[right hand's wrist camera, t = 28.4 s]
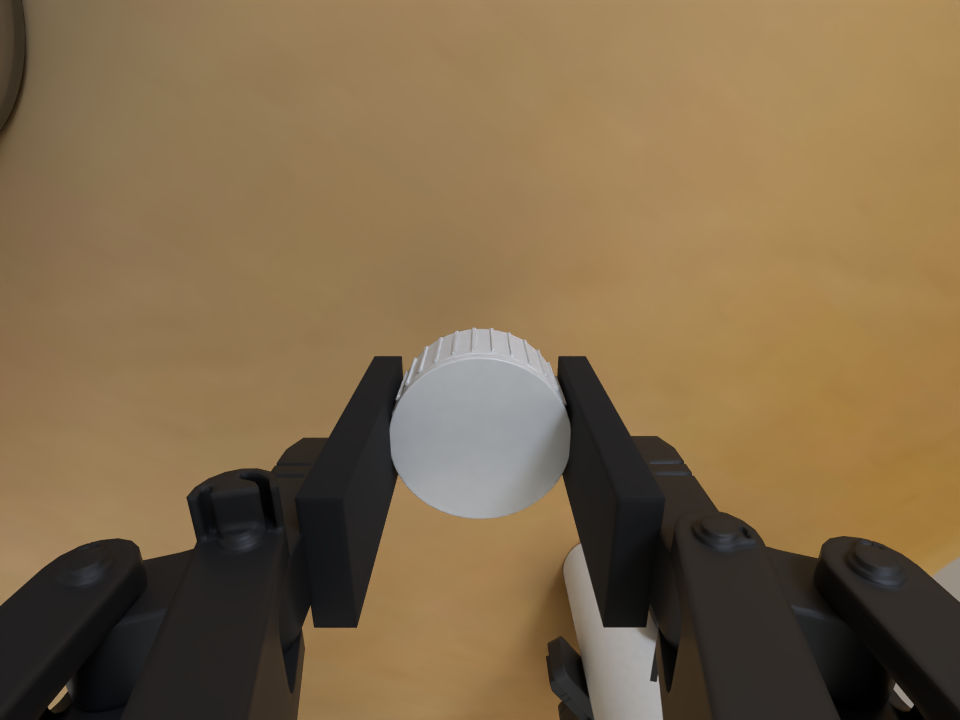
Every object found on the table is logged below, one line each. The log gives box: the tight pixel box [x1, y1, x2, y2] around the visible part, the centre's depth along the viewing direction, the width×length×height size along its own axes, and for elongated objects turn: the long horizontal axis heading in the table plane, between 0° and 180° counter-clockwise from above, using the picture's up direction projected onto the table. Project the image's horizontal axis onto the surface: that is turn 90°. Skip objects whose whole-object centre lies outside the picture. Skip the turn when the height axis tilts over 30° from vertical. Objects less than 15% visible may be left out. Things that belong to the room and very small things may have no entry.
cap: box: [390, 328, 571, 519], centre depth 13 cm, size 4×5×2 cm
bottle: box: [563, 543, 663, 720], centre depth 23 cm, size 5×5×17 cm
